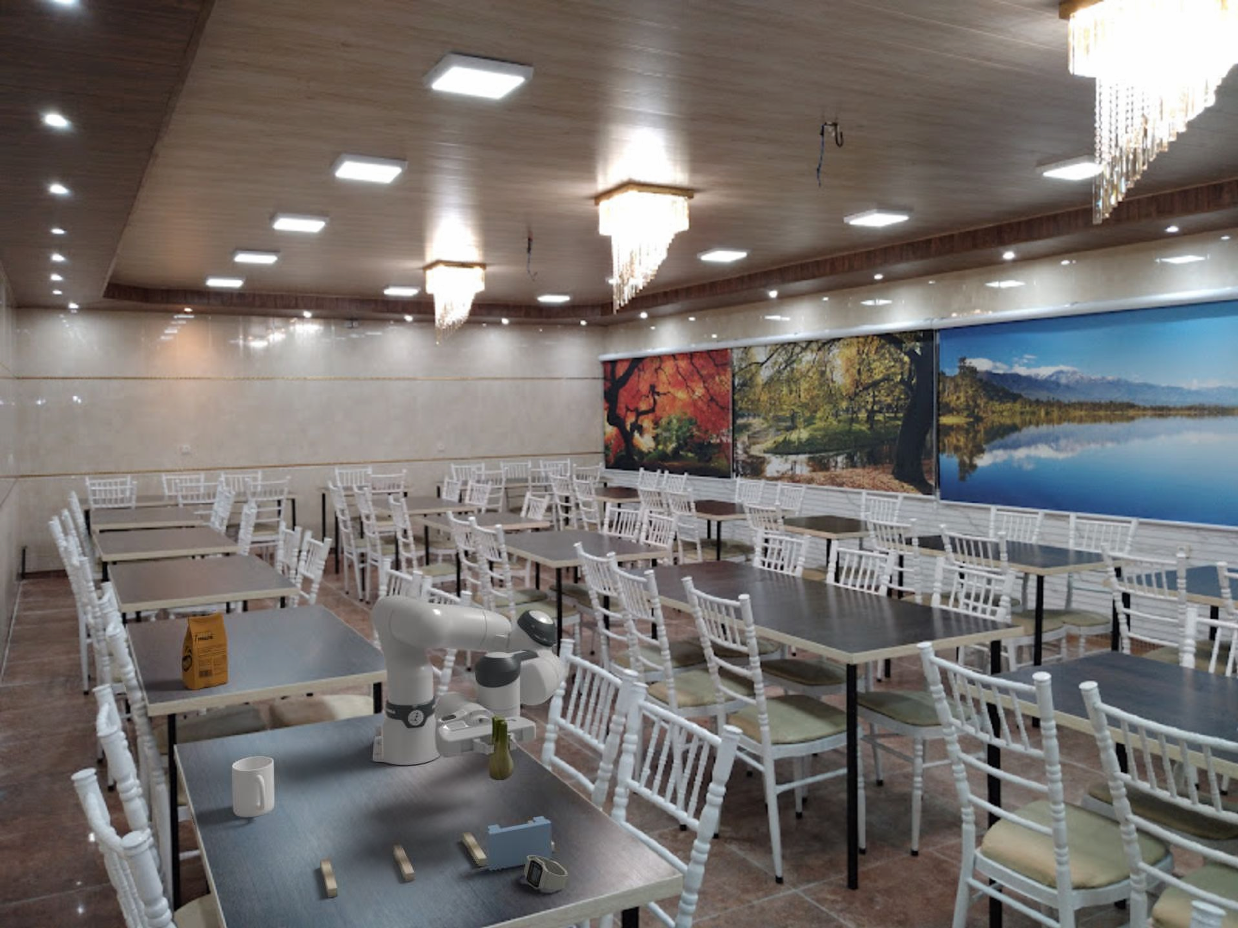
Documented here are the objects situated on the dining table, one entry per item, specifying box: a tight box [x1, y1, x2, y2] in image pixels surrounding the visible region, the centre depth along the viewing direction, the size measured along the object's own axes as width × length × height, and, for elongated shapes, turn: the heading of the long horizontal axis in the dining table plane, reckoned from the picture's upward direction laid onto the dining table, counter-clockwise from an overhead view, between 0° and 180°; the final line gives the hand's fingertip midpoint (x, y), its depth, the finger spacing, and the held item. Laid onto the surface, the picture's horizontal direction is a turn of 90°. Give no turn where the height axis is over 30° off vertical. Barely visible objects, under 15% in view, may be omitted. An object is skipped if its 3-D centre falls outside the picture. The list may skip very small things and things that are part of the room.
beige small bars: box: [319, 819, 555, 898], centre depth 180 cm, size 12×42×2 cm, turn 114°
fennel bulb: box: [488, 716, 515, 781], centre depth 187 cm, size 6×5×12 cm
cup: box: [231, 755, 275, 818], centre depth 202 cm, size 8×12×10 cm
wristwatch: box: [523, 855, 568, 891], centre depth 172 cm, size 9×6×5 cm
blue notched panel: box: [486, 815, 553, 872], centre depth 180 cm, size 4×12×7 cm, turn 114°
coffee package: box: [181, 611, 229, 691], centre depth 296 cm, size 10×12×22 cm
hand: (502, 748), depth 187 cm, fingers closed on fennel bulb, 3 cm apart
